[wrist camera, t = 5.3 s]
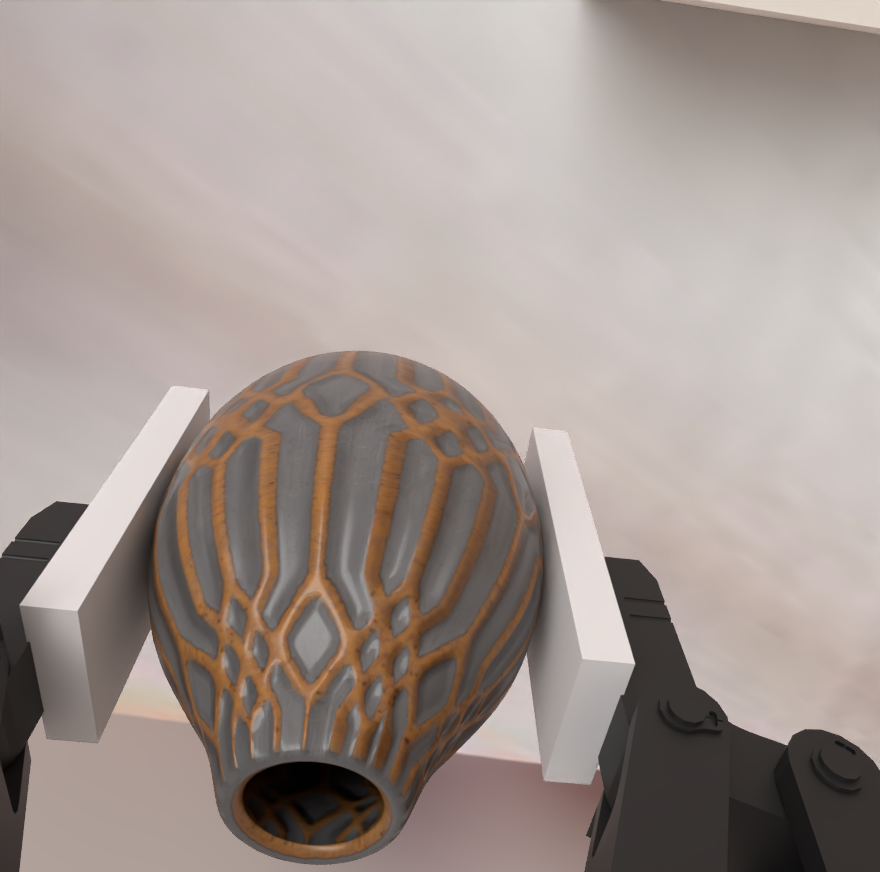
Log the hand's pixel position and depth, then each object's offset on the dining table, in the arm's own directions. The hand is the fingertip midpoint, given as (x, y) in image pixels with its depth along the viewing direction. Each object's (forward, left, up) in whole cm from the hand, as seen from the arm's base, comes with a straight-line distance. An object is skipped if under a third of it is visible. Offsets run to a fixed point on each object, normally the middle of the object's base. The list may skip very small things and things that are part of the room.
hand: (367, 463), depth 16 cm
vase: (0, 0, -1) cm, 1 cm away
